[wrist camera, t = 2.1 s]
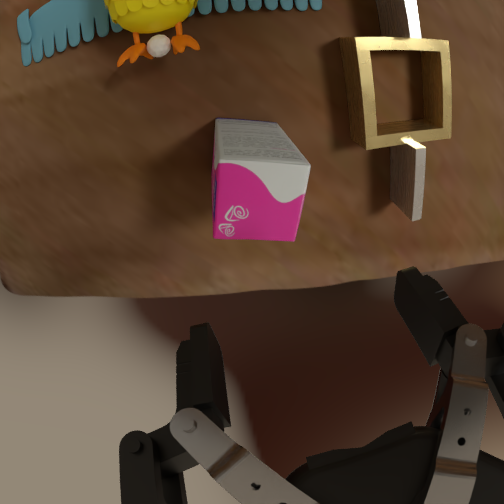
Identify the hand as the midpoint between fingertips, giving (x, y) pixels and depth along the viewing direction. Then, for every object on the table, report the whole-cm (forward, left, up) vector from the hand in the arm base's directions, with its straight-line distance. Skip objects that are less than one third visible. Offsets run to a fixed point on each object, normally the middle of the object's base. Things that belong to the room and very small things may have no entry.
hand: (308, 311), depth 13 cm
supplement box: (0, 0, -21) cm, 21 cm away
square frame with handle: (-4, +16, -20) cm, 26 cm away
